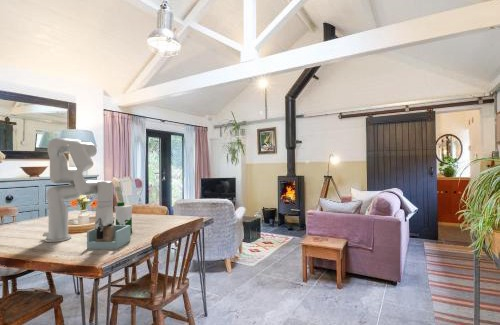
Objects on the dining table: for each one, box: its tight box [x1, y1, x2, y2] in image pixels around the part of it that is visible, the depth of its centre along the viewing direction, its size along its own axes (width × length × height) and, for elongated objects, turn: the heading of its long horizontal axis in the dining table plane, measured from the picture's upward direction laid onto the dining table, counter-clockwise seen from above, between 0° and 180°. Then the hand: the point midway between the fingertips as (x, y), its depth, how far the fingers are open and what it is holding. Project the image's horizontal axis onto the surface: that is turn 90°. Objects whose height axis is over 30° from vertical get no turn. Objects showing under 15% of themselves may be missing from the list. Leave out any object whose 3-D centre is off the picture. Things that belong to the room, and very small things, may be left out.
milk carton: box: [113, 201, 134, 234], centre depth 170 cm, size 9×9×20 cm
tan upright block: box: [96, 226, 114, 242], centre depth 143 cm, size 8×3×10 cm, turn 89°
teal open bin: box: [86, 224, 132, 250], centre depth 148 cm, size 16×15×9 cm
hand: (105, 236), depth 143 cm, fingers open, 9 cm apart
